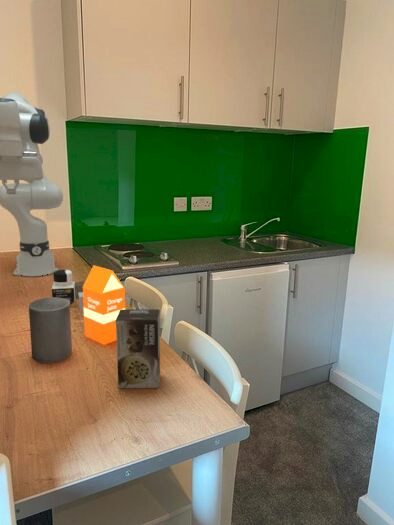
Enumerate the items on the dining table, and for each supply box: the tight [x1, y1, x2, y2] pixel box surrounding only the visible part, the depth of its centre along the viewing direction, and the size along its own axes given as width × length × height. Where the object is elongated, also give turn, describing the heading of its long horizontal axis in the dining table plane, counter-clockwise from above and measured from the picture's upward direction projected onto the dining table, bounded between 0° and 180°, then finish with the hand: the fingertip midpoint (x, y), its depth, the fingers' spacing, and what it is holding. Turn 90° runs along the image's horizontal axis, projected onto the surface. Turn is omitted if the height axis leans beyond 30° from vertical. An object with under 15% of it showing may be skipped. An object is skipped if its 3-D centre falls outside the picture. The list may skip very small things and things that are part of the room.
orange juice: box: [82, 265, 126, 346], centre depth 109 cm, size 8×9×20 cm
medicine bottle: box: [51, 269, 77, 308], centre depth 134 cm, size 7×7×12 cm
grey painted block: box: [78, 292, 84, 312], centre depth 132 cm, size 5×5×5 cm
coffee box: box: [116, 308, 161, 389], centre depth 86 cm, size 9×6×16 cm
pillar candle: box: [28, 296, 73, 364], centre depth 98 cm, size 10×10×15 cm
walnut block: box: [74, 280, 86, 300], centre depth 144 cm, size 5×5×5 cm
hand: (11, 194), depth 130 cm, fingers closed
